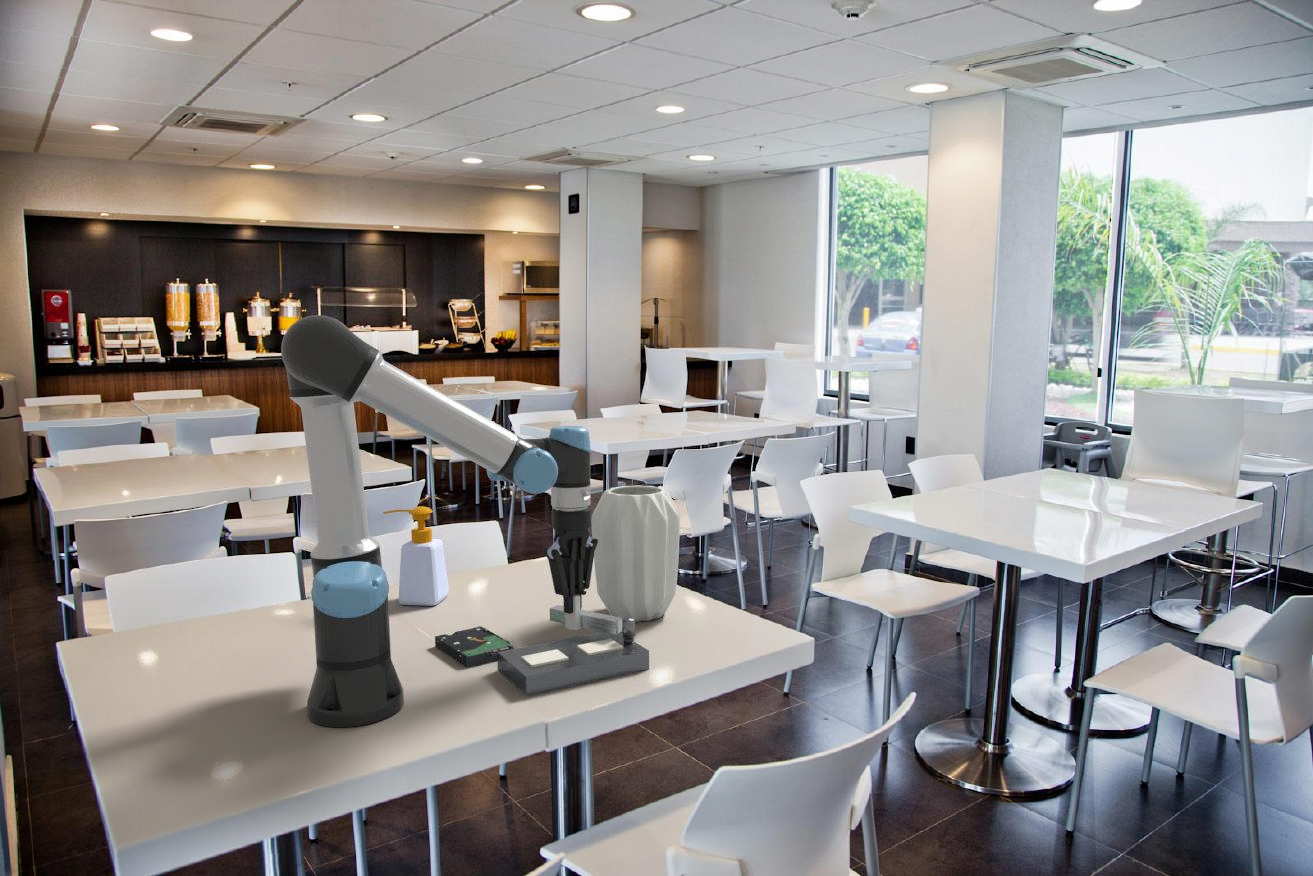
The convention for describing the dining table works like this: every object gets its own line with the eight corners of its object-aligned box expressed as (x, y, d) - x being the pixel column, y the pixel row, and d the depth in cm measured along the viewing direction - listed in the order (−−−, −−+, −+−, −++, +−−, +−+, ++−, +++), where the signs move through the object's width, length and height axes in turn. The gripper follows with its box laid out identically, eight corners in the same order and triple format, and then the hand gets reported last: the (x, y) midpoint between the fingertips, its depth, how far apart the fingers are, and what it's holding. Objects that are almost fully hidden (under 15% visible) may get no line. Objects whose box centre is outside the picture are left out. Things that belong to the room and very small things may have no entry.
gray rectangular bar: (637, 635, 171) (637, 618, 171) (630, 639, 169) (629, 621, 169) (557, 618, 182) (557, 602, 181) (549, 622, 179) (549, 605, 179)
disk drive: (434, 650, 180) (467, 670, 168) (433, 636, 180) (467, 656, 168) (481, 638, 186) (517, 657, 175) (480, 625, 186) (516, 643, 174)
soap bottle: (395, 594, 217) (391, 502, 214) (451, 595, 215) (448, 503, 212) (378, 605, 207) (373, 510, 205) (436, 607, 205) (432, 511, 203)
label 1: (531, 667, 159) (531, 665, 159) (521, 658, 163) (521, 656, 163) (568, 659, 162) (568, 657, 162) (557, 651, 166) (557, 649, 166)
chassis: (526, 696, 155) (525, 672, 154) (497, 670, 167) (497, 647, 166) (649, 669, 167) (649, 646, 166) (614, 646, 179) (613, 625, 178)
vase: (631, 634, 186) (629, 502, 183) (575, 613, 200) (572, 490, 197) (700, 614, 198) (699, 490, 195) (642, 595, 213) (641, 479, 210)
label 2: (588, 655, 164) (588, 653, 164) (577, 647, 168) (577, 645, 168) (623, 648, 168) (623, 646, 167) (610, 640, 172) (610, 638, 172)
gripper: (562, 514, 165) (564, 640, 168) (608, 504, 176) (609, 623, 178) (533, 510, 170) (535, 633, 172) (579, 500, 180) (580, 616, 183)
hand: (573, 628), depth 175 cm, fingers closed
